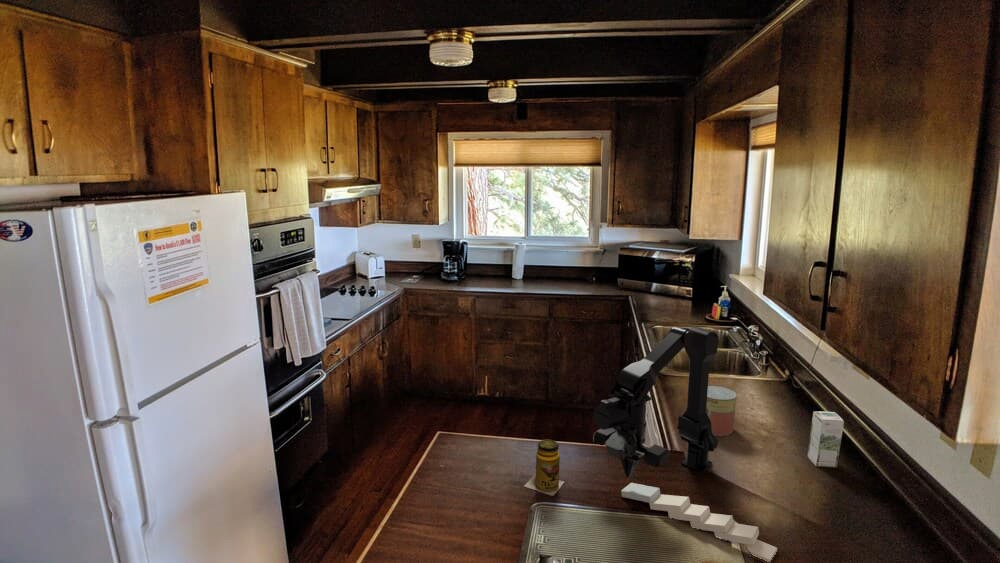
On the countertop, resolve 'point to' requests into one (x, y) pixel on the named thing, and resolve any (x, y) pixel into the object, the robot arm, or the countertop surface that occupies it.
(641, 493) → the domino
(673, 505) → the domino
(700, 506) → the domino
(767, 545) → the domino
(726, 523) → the domino
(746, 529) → the domino
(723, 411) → the canned food
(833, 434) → the syrup box
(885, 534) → the countertop surface
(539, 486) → the condiment
